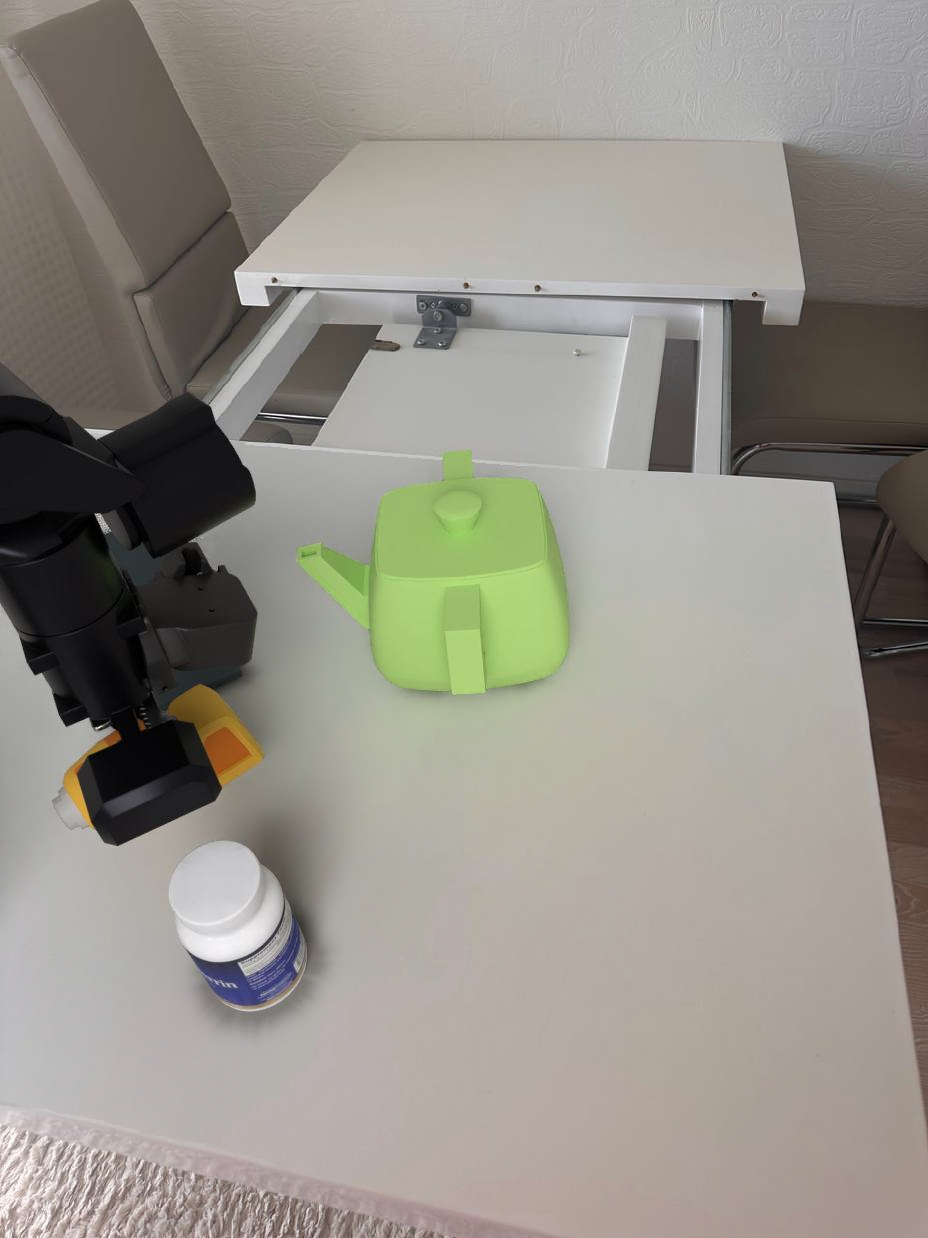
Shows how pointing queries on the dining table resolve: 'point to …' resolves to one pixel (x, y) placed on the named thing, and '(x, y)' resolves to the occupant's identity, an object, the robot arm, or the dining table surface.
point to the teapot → (456, 583)
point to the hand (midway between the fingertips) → (162, 776)
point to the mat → (142, 573)
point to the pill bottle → (237, 925)
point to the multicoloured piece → (216, 728)
